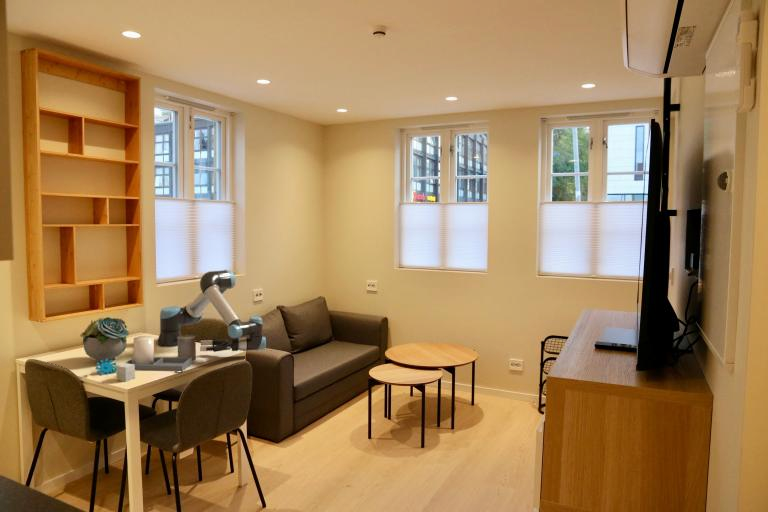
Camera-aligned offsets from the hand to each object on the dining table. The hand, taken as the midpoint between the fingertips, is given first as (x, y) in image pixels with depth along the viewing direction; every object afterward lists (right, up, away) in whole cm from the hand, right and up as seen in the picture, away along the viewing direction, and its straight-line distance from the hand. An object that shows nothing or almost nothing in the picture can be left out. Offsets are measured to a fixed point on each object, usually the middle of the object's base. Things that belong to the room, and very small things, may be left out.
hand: (200, 345), depth 302 cm
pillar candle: (-7, -8, -1) cm, 11 cm away
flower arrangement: (-50, -7, -8) cm, 51 cm away
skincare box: (-24, -10, -39) cm, 47 cm away
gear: (-36, -9, -32) cm, 49 cm away
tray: (-17, -9, -18) cm, 26 cm away
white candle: (-24, -7, -18) cm, 31 cm away
